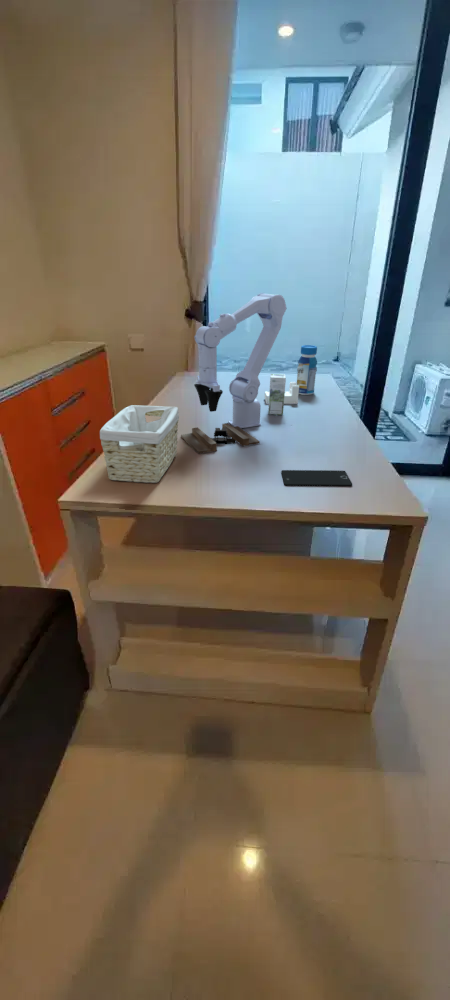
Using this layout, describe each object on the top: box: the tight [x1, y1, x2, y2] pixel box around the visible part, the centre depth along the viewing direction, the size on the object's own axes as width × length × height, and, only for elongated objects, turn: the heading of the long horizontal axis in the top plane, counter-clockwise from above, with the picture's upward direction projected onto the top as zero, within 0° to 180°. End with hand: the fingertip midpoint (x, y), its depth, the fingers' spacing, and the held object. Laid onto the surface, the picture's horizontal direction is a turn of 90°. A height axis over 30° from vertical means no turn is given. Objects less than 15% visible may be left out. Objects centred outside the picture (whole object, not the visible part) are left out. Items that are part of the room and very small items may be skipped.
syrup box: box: [267, 373, 287, 416], centre depth 167 cm, size 6×6×14 cm
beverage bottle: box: [296, 344, 318, 396], centre depth 191 cm, size 8×8×20 cm
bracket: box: [264, 381, 300, 405], centre depth 183 cm, size 13×7×8 cm, turn 92°
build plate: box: [210, 427, 237, 445], centre depth 143 cm, size 12×7×5 cm, turn 89°
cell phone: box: [280, 469, 353, 488], centre depth 119 cm, size 9×18×1 cm, turn 90°
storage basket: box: [99, 404, 180, 484], centre depth 122 cm, size 24×16×15 cm
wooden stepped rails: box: [180, 422, 261, 455], centre depth 143 cm, size 21×16×2 cm
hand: (208, 407), depth 147 cm, fingers open, 7 cm apart
